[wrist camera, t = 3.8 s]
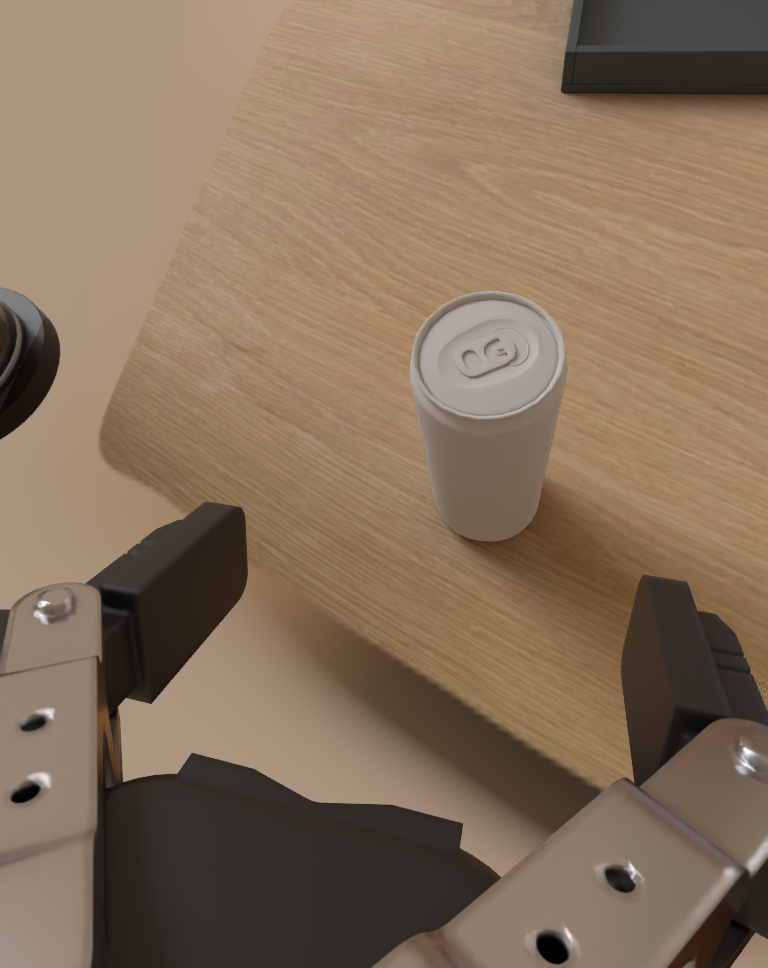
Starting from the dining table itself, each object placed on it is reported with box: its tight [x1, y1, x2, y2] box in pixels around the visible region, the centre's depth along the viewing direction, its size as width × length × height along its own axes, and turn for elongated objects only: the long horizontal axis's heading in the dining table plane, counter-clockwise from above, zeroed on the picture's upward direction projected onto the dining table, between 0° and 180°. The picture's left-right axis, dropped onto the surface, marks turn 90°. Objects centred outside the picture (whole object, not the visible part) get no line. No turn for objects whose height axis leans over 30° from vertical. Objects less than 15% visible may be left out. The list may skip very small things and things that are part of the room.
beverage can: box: [410, 291, 567, 542], centre depth 24 cm, size 5×5×12 cm
